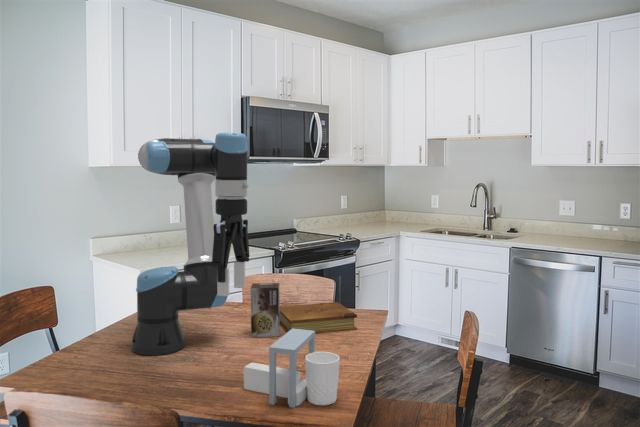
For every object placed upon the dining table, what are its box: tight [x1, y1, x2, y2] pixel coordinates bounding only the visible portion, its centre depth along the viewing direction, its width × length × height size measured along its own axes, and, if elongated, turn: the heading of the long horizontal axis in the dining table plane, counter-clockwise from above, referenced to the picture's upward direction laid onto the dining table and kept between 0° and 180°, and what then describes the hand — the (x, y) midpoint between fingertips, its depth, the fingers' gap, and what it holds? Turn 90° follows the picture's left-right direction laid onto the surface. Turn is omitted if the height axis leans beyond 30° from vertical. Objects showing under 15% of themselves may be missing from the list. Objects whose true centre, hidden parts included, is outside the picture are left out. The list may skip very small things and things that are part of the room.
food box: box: [249, 282, 281, 338], centre depth 171 cm, size 9×6×16 cm
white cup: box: [305, 351, 341, 406], centre depth 123 cm, size 8×8×10 cm
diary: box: [280, 301, 358, 335], centre depth 183 cm, size 23×19×6 cm
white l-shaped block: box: [243, 362, 308, 407], centre depth 127 cm, size 16×9×6 cm, turn 65°
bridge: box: [268, 328, 316, 409], centre depth 126 cm, size 6×15×13 cm, turn 163°
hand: (231, 291), depth 130 cm, fingers open, 8 cm apart
